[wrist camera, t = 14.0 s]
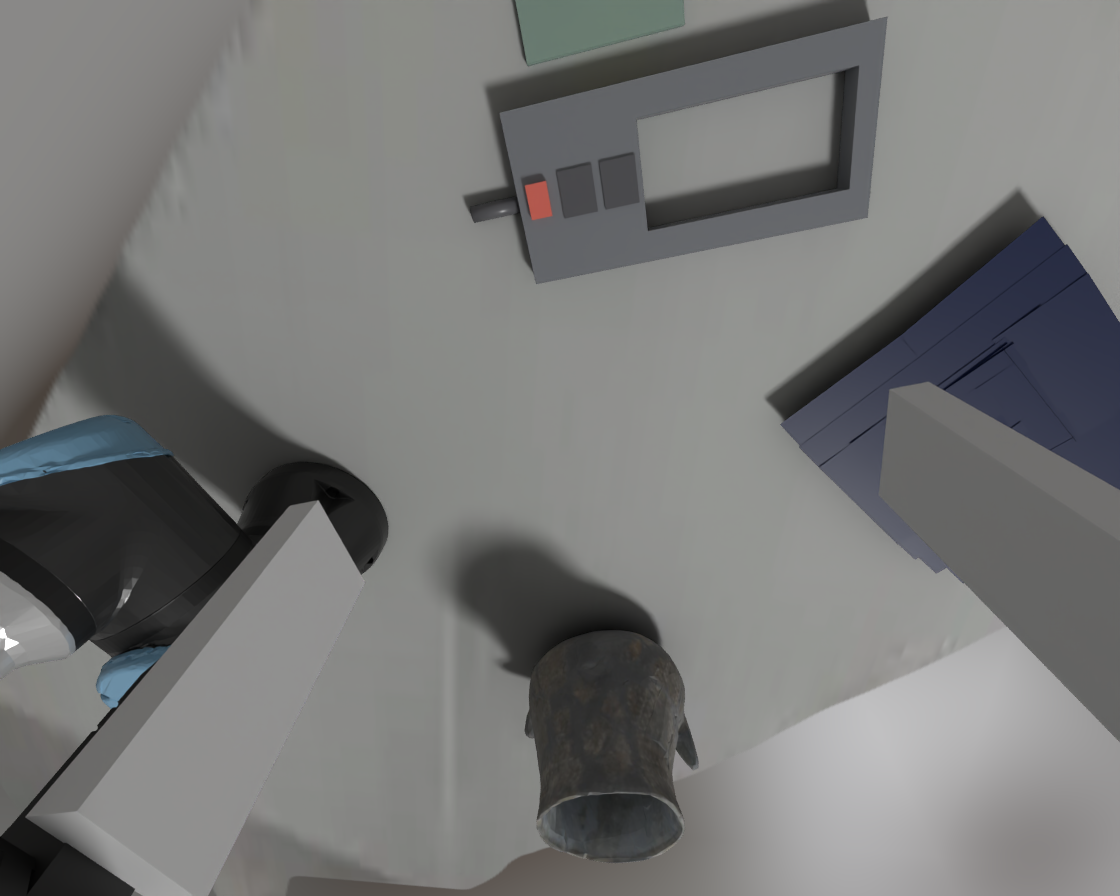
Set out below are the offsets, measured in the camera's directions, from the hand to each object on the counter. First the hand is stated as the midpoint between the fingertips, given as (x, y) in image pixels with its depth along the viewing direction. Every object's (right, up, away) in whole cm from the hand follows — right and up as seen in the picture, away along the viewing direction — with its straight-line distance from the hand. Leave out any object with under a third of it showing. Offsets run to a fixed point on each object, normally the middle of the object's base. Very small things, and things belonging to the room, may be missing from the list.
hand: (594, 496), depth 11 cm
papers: (+39, +3, +37) cm, 54 cm away
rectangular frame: (+7, +23, +26) cm, 35 cm away
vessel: (+4, -28, +56) cm, 63 cm away
